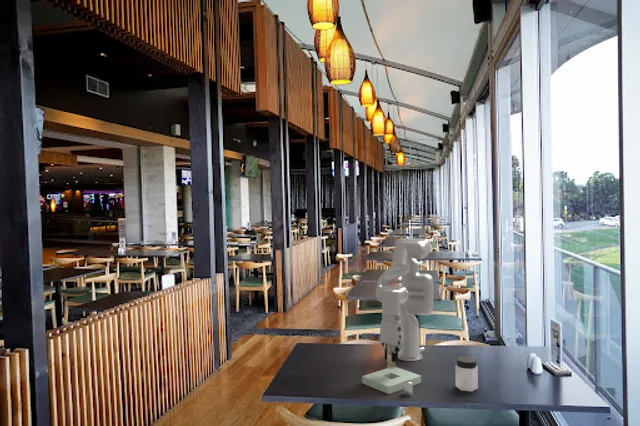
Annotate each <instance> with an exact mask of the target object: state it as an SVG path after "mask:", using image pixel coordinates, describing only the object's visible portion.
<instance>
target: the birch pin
mask: <svg viewBox="0 0 640 426" xmlns="http://www.w3.org/2000/svg"><path fill="white" fill-rule="evenodd" d="M392 353H393V349H392V345H389V344H387V360H386V369H387V368H390V369H394V368H395V367H396V362H392Z"/></svg>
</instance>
